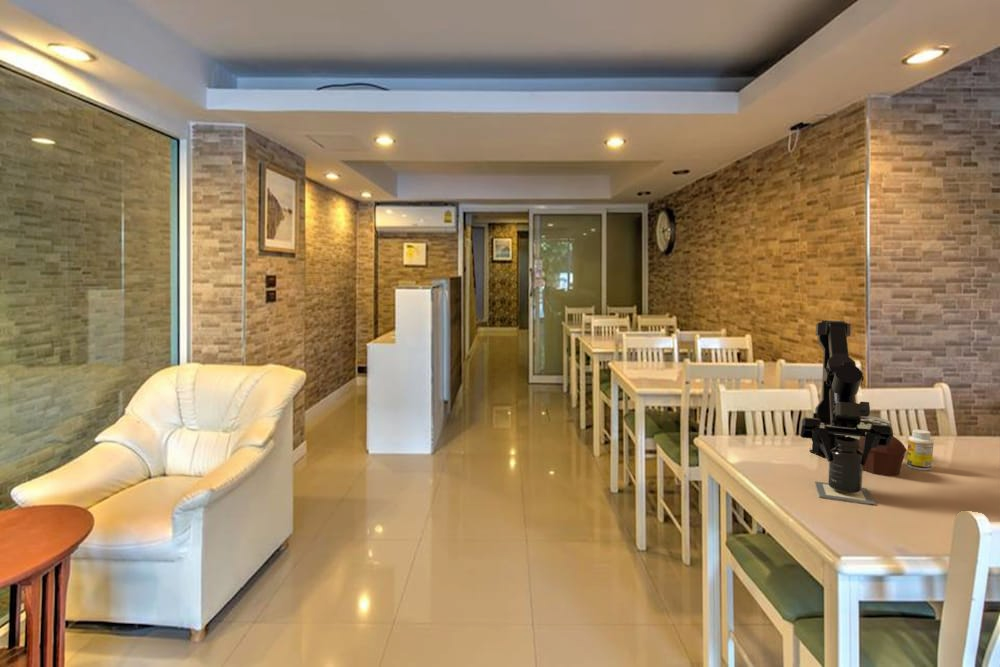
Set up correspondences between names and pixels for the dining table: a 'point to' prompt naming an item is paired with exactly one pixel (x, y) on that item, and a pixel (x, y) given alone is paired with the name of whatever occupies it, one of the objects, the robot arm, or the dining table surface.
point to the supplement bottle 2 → (920, 450)
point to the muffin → (884, 458)
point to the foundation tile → (843, 494)
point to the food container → (870, 423)
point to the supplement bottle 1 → (846, 465)
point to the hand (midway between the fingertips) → (846, 462)
